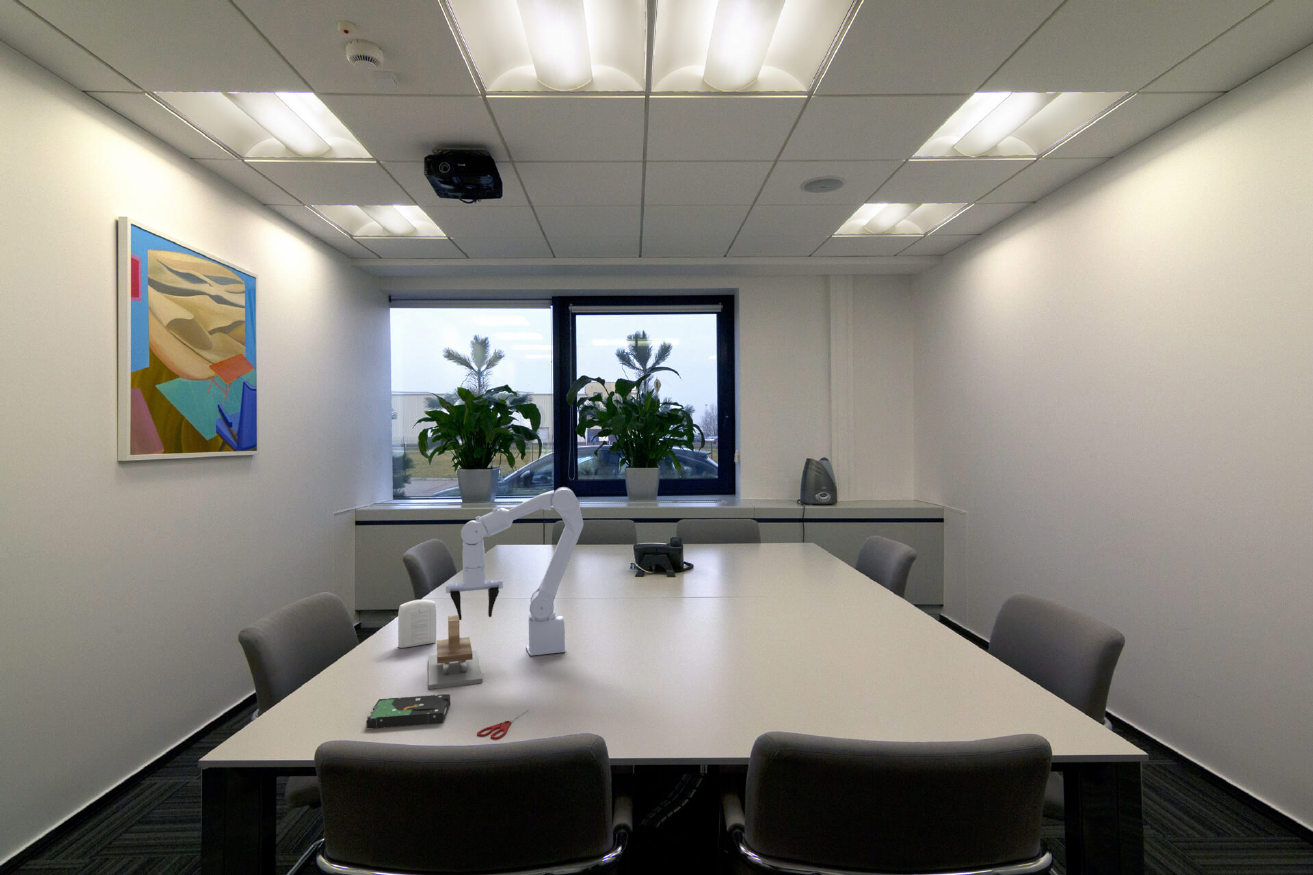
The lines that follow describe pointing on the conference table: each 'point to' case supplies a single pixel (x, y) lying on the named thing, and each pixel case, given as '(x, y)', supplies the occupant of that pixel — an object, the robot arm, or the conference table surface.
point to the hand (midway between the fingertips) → (475, 617)
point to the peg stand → (454, 672)
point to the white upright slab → (416, 623)
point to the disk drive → (409, 711)
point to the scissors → (501, 726)
